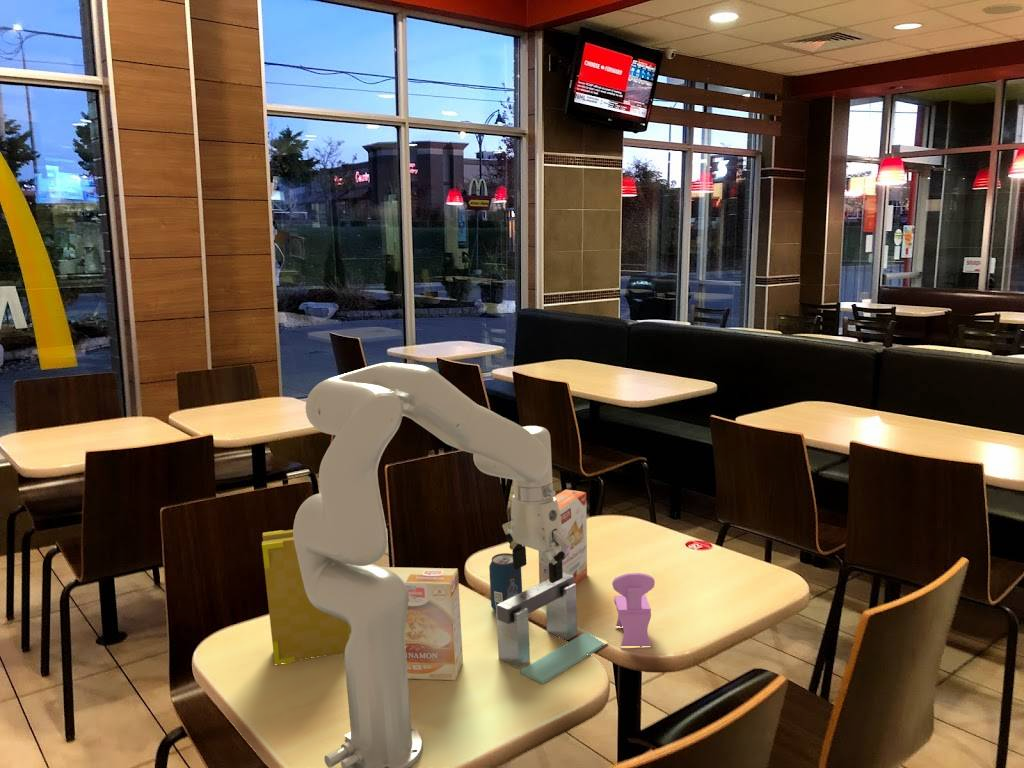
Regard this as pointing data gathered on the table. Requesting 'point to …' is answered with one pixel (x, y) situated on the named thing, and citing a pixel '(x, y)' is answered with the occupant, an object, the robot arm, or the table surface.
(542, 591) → the rail
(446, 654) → the coffeecake box
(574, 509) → the cracker box
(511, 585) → the soda can
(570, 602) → the post far
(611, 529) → the table surface
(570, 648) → the mat
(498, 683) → the table surface
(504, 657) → the post near arm
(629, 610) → the toy chair
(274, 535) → the book
